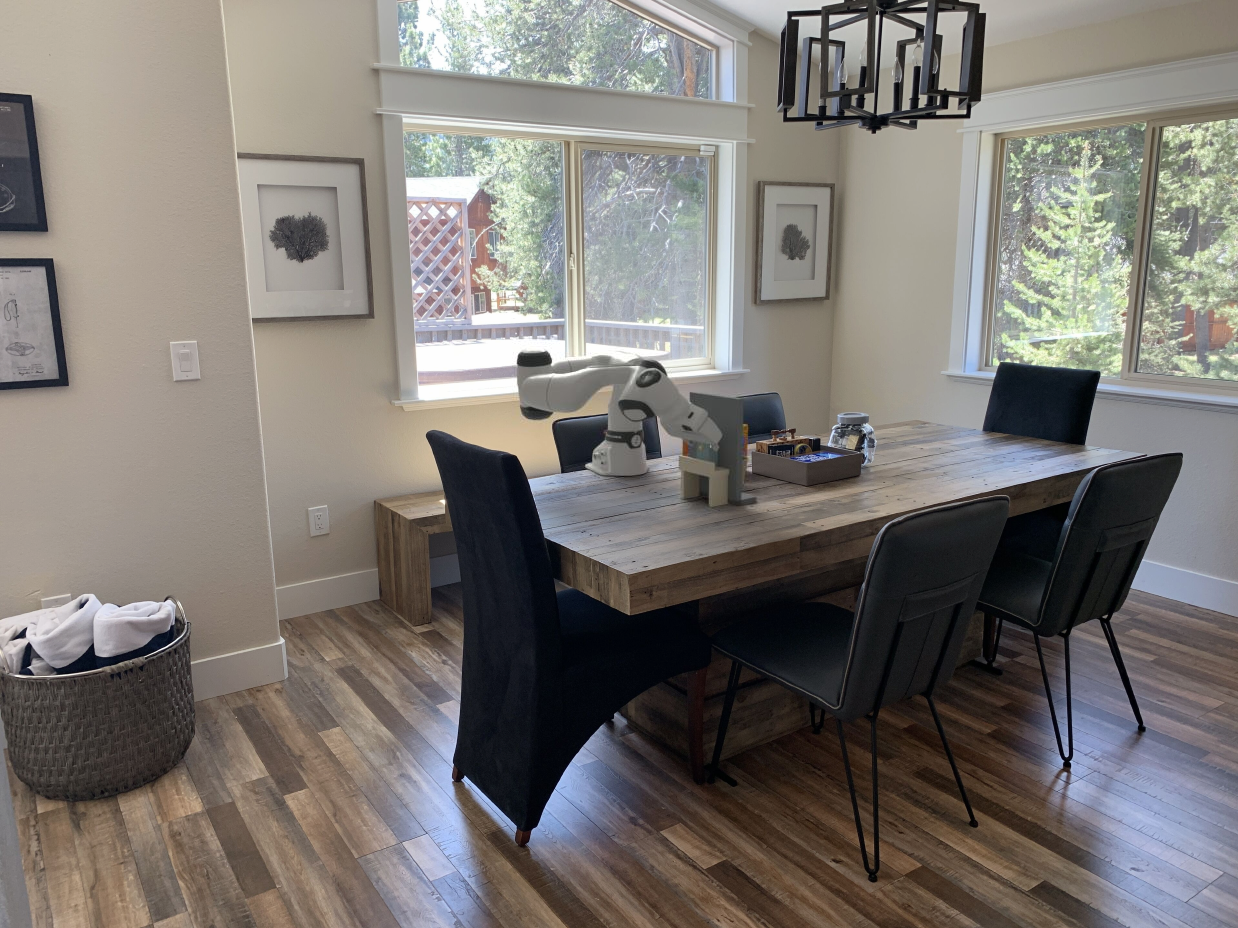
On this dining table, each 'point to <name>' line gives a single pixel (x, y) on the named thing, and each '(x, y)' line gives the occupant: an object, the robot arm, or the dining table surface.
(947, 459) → the dining table surface
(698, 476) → the wall board
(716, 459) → the small cabinet
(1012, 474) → the dining table surface
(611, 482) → the dining table surface
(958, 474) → the dining table surface
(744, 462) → the flower pot
